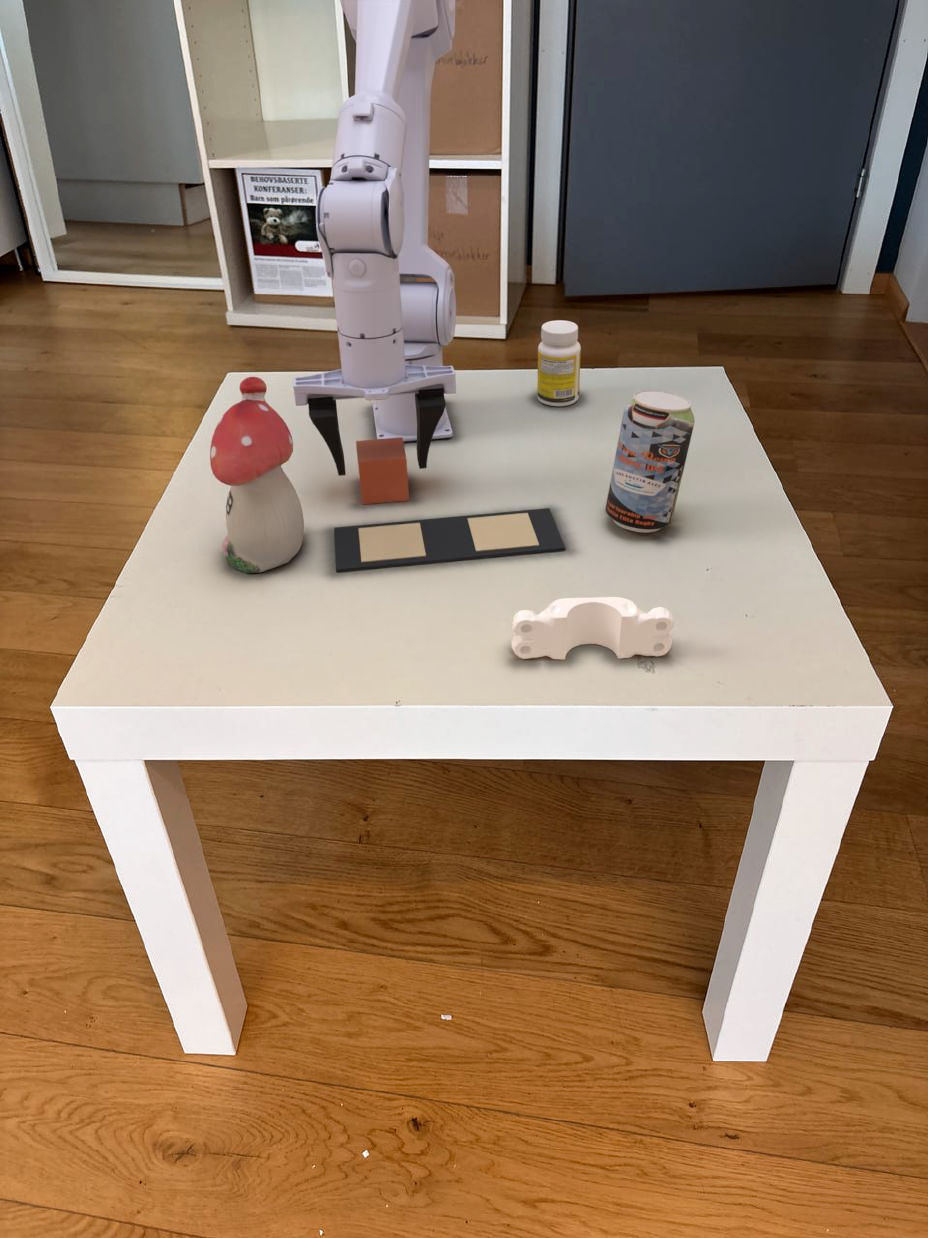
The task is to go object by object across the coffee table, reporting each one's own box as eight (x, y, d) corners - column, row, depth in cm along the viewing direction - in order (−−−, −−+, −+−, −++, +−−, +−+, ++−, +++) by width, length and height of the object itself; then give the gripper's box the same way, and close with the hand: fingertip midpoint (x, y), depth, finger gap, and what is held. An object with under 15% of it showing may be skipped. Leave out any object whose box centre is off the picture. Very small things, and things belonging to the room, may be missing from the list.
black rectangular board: (334, 530, 90) (334, 526, 89) (549, 510, 91) (549, 506, 91) (336, 572, 84) (336, 568, 84) (565, 550, 86) (565, 546, 85)
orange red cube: (360, 482, 97) (355, 440, 94) (405, 478, 97) (402, 436, 94) (362, 504, 93) (357, 462, 90) (409, 500, 94) (406, 458, 91)
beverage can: (591, 526, 89) (598, 402, 82) (638, 495, 93) (648, 375, 86) (649, 550, 85) (662, 423, 78) (695, 517, 90) (711, 394, 82)
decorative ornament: (267, 519, 91) (241, 365, 83) (327, 532, 89) (308, 376, 80) (207, 570, 85) (172, 409, 76) (271, 586, 82) (243, 422, 74)
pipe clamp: (666, 637, 75) (671, 595, 73) (671, 657, 73) (677, 615, 71) (510, 640, 76) (510, 598, 73) (511, 660, 74) (511, 618, 71)
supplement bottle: (551, 386, 114) (553, 315, 109) (586, 395, 112) (590, 323, 107) (529, 401, 111) (529, 328, 106) (564, 410, 109) (567, 337, 104)
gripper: (285, 350, 82) (305, 493, 90) (458, 337, 83) (462, 480, 91) (287, 321, 87) (305, 459, 95) (448, 310, 89) (453, 446, 97)
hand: (382, 467), depth 94 cm, fingers open, 7 cm apart
